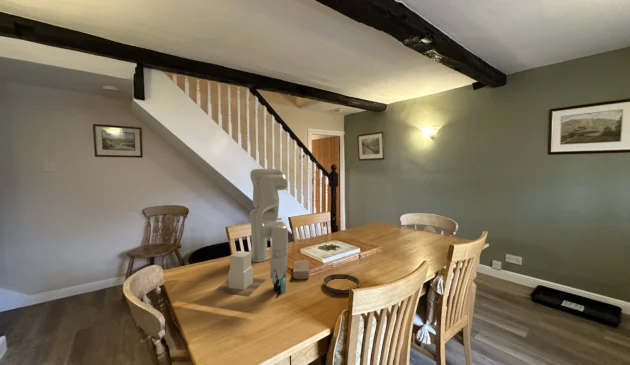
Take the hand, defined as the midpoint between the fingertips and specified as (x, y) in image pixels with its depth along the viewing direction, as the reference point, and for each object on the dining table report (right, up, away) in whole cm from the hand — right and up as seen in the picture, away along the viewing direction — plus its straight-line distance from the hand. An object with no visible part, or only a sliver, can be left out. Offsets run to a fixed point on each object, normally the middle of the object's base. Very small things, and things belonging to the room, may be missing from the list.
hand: (279, 289), depth 120 cm
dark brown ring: (+29, -1, +5) cm, 30 cm away
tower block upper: (-19, +9, +2) cm, 21 cm away
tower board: (-19, 0, +3) cm, 19 cm away
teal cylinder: (0, -1, 0) cm, 1 cm away
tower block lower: (-19, +1, +3) cm, 19 cm away
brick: (+9, 0, +21) cm, 22 cm away
